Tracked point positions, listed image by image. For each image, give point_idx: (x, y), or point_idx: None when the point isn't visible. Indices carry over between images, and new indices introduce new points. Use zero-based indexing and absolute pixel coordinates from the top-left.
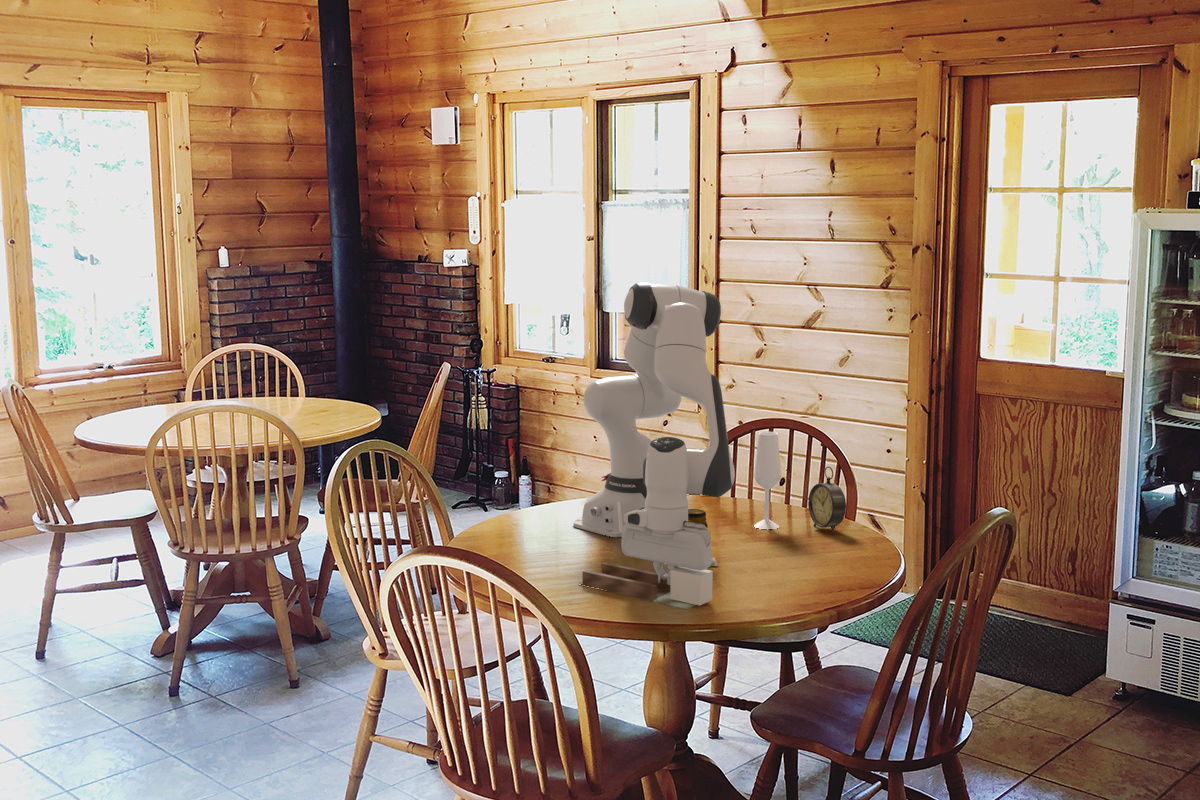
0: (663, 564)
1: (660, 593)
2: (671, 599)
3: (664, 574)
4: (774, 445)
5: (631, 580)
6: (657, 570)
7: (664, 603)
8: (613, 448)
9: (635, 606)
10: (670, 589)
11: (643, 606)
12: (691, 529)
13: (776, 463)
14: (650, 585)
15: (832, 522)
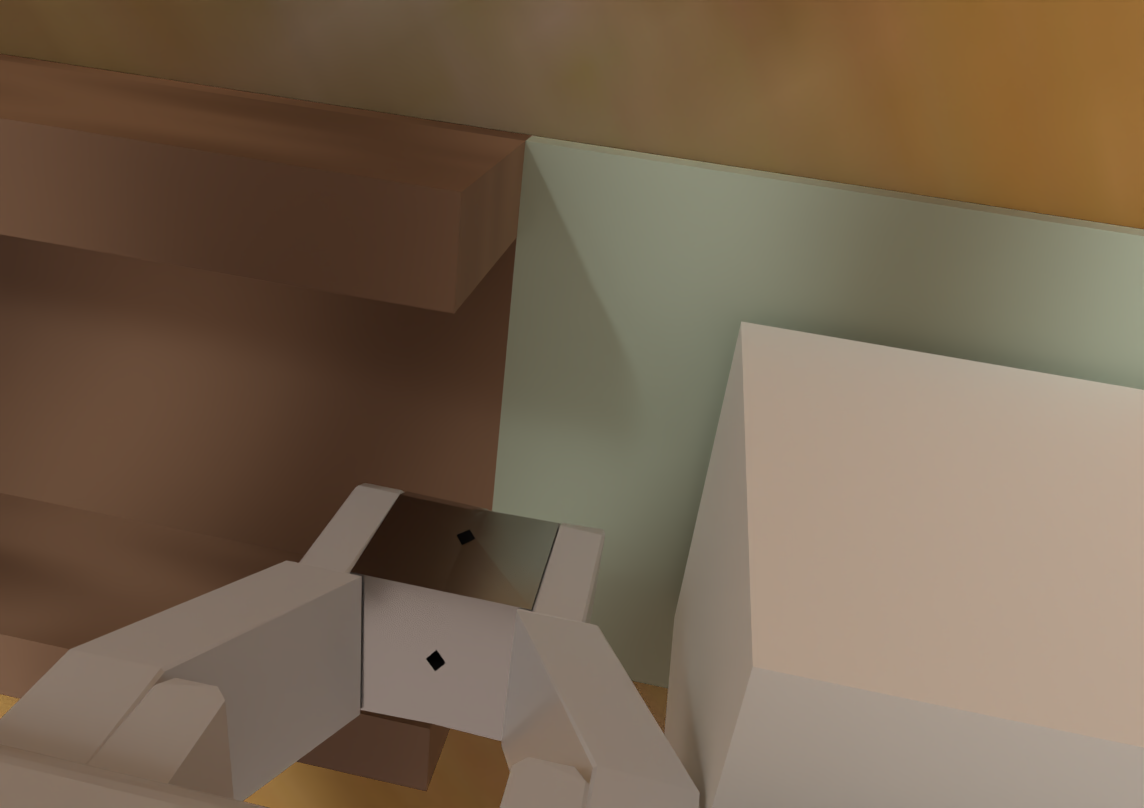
0: (225, 731)
1: (424, 405)
2: (672, 565)
3: (392, 643)
4: None
5: (8, 653)
6: (251, 772)
7: (638, 671)
8: None
9: (397, 786)
10: (665, 720)
11: (465, 768)
12: None
13: None
14: (359, 763)
15: None
